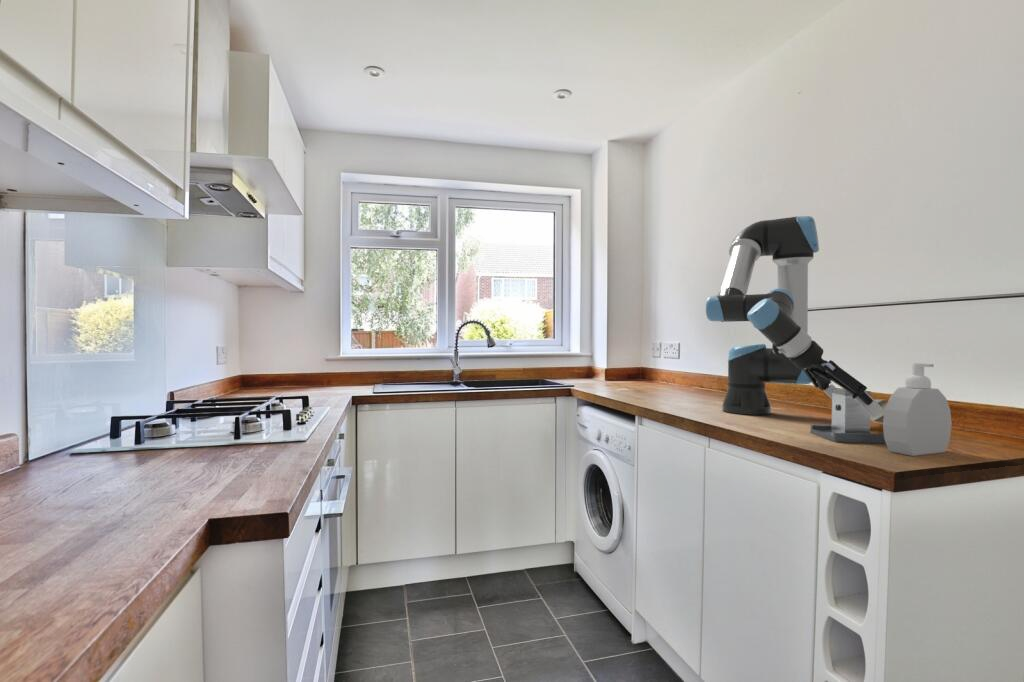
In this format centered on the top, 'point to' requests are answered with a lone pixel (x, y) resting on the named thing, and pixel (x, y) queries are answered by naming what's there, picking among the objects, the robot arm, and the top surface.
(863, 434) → the hitch plate
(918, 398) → the soap bottle
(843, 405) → the lock block
